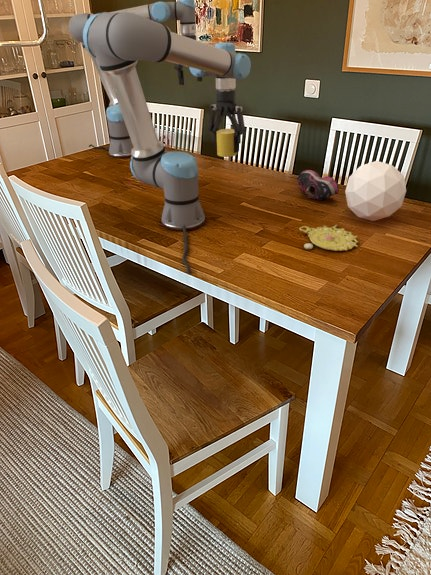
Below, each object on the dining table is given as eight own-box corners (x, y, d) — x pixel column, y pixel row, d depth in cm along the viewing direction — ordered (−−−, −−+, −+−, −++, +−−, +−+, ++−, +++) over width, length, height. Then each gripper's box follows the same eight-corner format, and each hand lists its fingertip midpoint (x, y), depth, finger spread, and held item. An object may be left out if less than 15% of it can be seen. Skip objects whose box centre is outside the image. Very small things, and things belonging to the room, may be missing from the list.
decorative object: (343, 255, 128) (285, 234, 139) (342, 262, 130) (284, 241, 140) (372, 230, 142) (317, 213, 152) (371, 237, 143) (316, 219, 153)
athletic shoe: (306, 169, 182) (282, 176, 178) (340, 163, 162) (313, 171, 158) (311, 196, 184) (288, 204, 181) (345, 193, 165) (320, 202, 161)
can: (220, 150, 183) (219, 128, 178) (239, 151, 181) (239, 129, 176) (214, 156, 177) (213, 133, 172) (234, 157, 175) (233, 134, 170)
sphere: (378, 240, 155) (398, 211, 136) (328, 211, 159) (341, 179, 141) (404, 201, 160) (427, 168, 141) (355, 174, 164) (371, 139, 145)
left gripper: (175, 36, 202) (179, 86, 213) (211, 33, 218) (212, 80, 229) (164, 36, 206) (168, 85, 217) (199, 33, 222) (201, 79, 233)
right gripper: (255, 89, 164) (254, 151, 176) (207, 86, 173) (209, 145, 186) (245, 92, 159) (245, 156, 171) (197, 89, 168) (200, 149, 180)
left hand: (190, 83), depth 223 cm, fingers open, 13 cm apart
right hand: (226, 150), depth 178 cm, fingers closed on can, 8 cm apart
